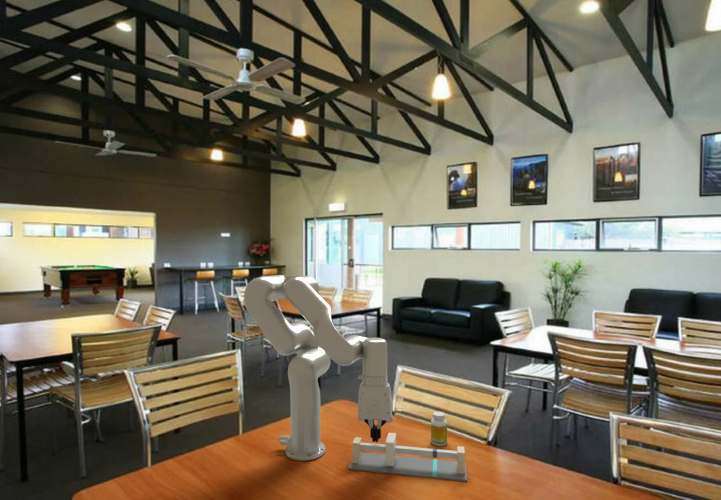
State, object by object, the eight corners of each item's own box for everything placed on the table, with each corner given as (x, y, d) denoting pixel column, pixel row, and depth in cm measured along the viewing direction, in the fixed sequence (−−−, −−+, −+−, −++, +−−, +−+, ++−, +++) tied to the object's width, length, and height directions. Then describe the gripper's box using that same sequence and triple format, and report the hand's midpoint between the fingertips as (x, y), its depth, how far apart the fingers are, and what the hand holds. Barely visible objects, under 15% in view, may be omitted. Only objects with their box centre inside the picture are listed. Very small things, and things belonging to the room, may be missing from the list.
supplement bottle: (447, 447, 138) (447, 417, 138) (430, 445, 139) (430, 416, 139) (447, 439, 143) (447, 411, 144) (431, 438, 145) (431, 410, 145)
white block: (385, 465, 123) (385, 442, 123) (388, 454, 130) (388, 432, 130) (393, 466, 123) (393, 443, 123) (396, 455, 130) (396, 433, 130)
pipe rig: (348, 469, 124) (348, 447, 124) (355, 453, 134) (355, 433, 134) (467, 481, 117) (467, 458, 117) (465, 463, 127) (465, 442, 127)
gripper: (348, 382, 125) (349, 443, 125) (398, 384, 122) (399, 447, 122) (353, 374, 133) (354, 433, 132) (401, 377, 130) (401, 436, 130)
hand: (375, 440), depth 127 cm, fingers closed
